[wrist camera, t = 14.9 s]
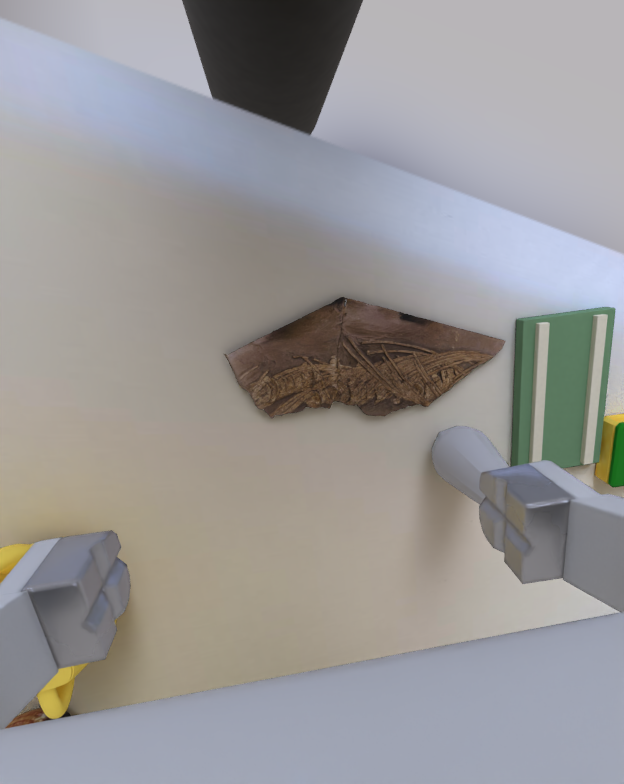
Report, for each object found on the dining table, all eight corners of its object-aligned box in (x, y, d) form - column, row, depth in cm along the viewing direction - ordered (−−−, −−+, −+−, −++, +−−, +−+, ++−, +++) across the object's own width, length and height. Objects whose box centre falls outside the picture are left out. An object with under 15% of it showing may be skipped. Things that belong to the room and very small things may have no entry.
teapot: (-32, 505, 39) (-138, 592, 28) (87, 478, 39) (25, 554, 29) (43, 649, 44) (-22, 766, 34) (147, 624, 45) (113, 731, 35)
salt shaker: (490, 444, 43) (582, 517, 30) (448, 481, 44) (521, 568, 31) (455, 407, 41) (538, 469, 29) (412, 447, 42) (475, 523, 30)
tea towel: (515, 318, 39) (527, 321, 38) (606, 306, 40) (620, 308, 38) (510, 470, 44) (520, 478, 42) (590, 457, 45) (603, 465, 43)
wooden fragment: (228, 417, 39) (227, 421, 38) (222, 295, 36) (221, 296, 34) (491, 410, 42) (497, 414, 41) (508, 298, 38) (514, 298, 37)
